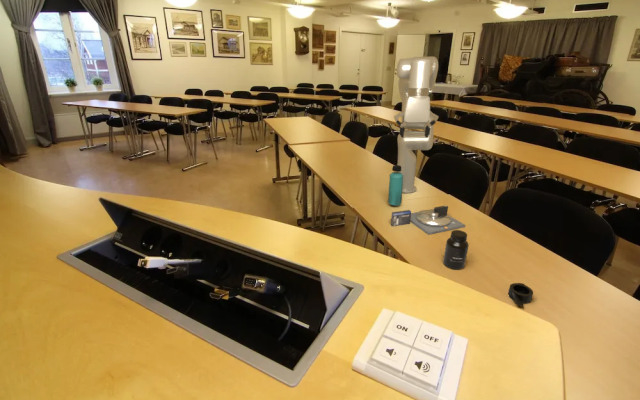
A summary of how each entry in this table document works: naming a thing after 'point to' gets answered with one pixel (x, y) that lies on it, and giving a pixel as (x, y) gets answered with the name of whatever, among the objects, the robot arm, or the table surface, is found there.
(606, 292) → the table surface
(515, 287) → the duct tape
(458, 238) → the supplement bottle
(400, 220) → the mini dv tape
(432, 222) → the dial
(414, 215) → the dial plate
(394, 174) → the beverage bottle
